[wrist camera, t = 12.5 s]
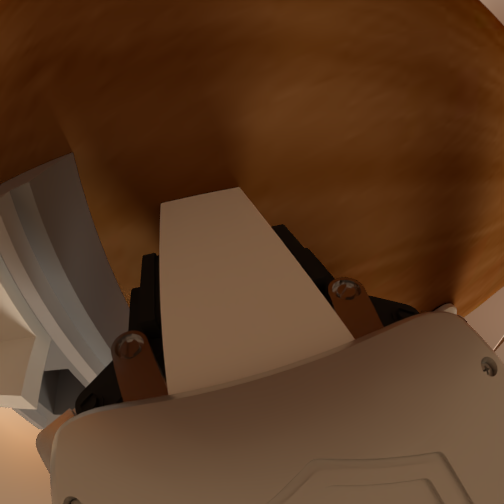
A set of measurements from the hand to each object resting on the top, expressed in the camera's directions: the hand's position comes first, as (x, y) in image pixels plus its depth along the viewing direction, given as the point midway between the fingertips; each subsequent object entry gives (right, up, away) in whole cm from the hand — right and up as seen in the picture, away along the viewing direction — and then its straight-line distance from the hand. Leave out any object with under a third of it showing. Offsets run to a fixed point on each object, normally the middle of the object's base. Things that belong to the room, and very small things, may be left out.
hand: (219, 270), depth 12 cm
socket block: (-12, -4, +3) cm, 13 cm away
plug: (-1, +2, +3) cm, 4 cm away
